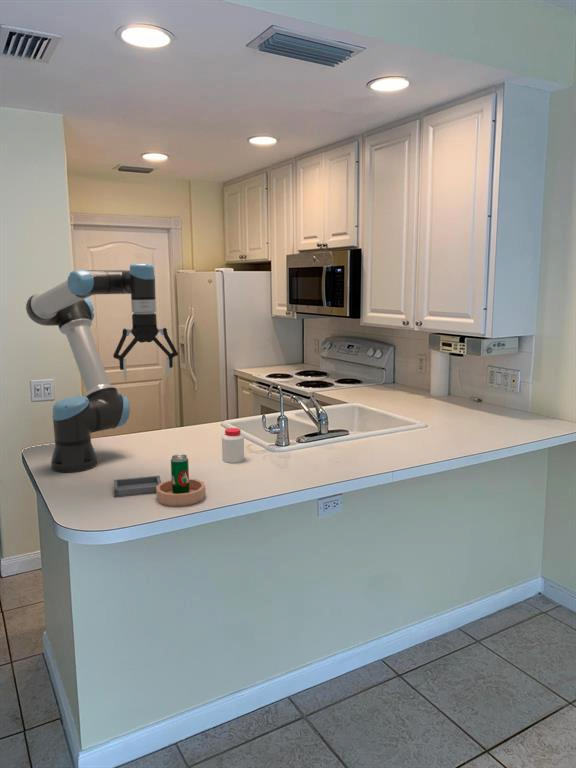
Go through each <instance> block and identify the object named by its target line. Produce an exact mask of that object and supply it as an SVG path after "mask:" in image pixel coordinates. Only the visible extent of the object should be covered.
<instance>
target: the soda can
mask: <svg viewBox="0 0 576 768" xmlns="http://www.w3.org/2000/svg"><path fill="white" fill-rule="evenodd" d="M189 471H190V470H189V458H188V456H187V454H182V453H180V454H174V455H172V456H171V459H170V472H171V473H170V474H171V476H170V477H171V480H172V493H173V494H181V493H189V492H190V490H189V479H190V474H189V473H190V472H189Z"/></svg>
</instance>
